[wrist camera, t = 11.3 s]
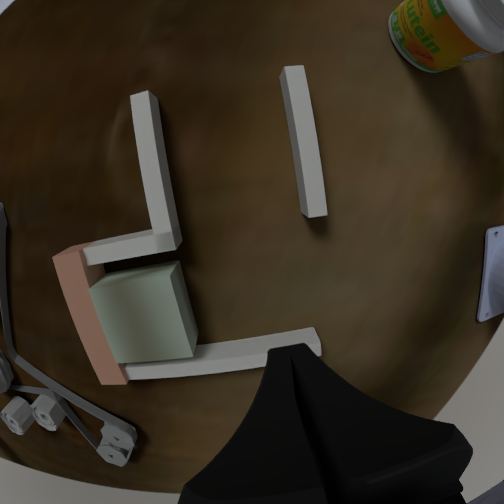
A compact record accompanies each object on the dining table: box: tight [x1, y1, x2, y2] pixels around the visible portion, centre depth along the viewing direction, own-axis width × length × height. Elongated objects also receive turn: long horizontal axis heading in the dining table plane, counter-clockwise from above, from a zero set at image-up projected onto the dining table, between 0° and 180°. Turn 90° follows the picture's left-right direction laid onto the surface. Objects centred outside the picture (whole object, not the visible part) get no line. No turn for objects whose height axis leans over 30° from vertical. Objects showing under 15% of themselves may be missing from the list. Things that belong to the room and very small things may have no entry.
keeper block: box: [88, 260, 198, 363], centre depth 17 cm, size 5×5×3 cm
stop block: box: [52, 241, 129, 385], centre depth 17 cm, size 2×9×2 cm, turn 9°
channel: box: [83, 65, 327, 380], centre depth 17 cm, size 14×16×2 cm
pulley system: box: [0, 203, 137, 467], centre depth 18 cm, size 27×5×15 cm
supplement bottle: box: [388, 0, 504, 73], centre depth 10 cm, size 5×5×10 cm
